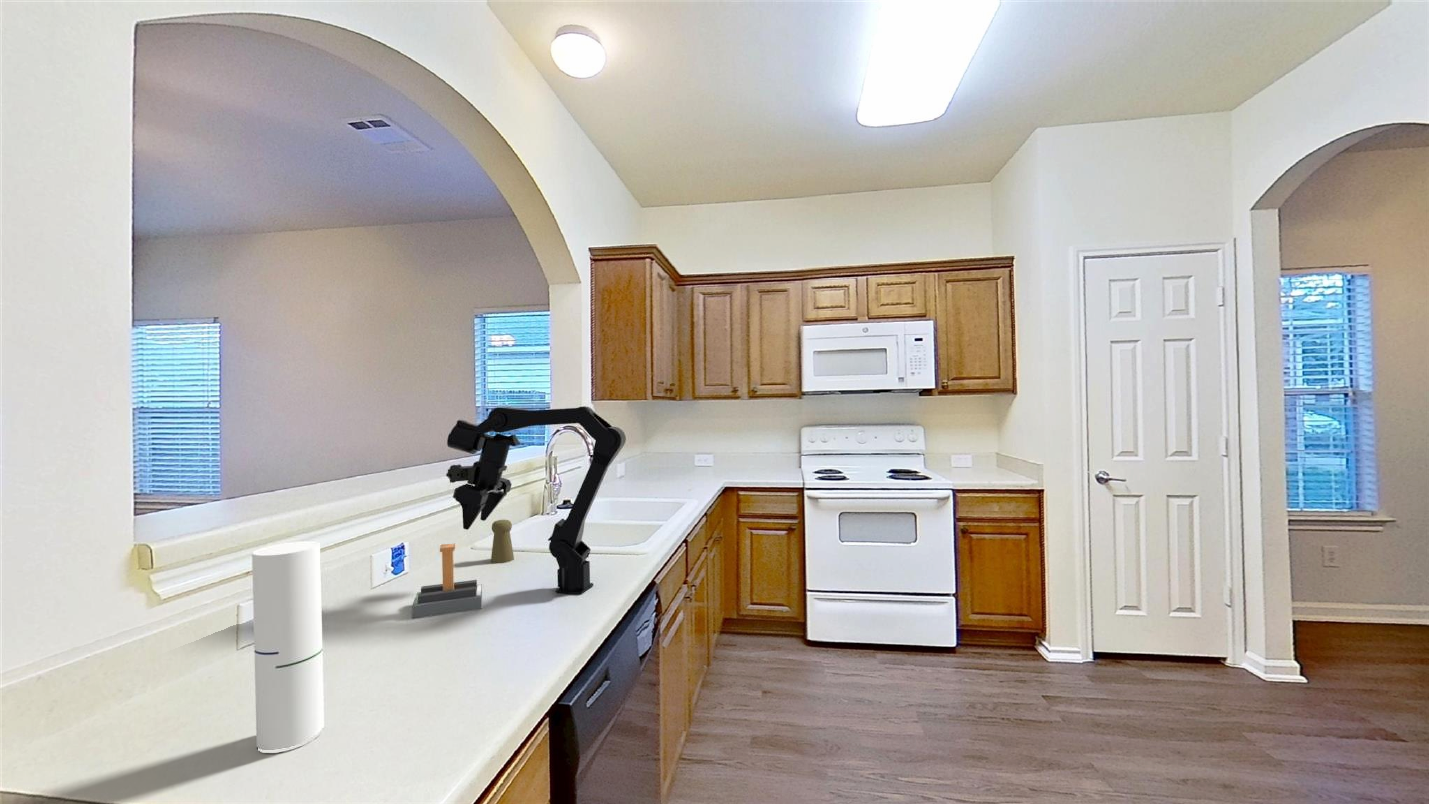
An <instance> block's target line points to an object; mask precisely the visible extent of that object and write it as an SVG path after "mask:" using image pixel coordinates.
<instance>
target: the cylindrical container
mask: <svg viewBox="0 0 1429 804" xmlns="http://www.w3.org/2000/svg"><path fill="white" fill-rule="evenodd" d="M251 561H252V563H251V565H252V566H251V569H252V571H251V572H252V603H253V604H252V605H253V646H254V648H253V649H254V650H253V652H254V654H253V655H254V686H255V691H254V692H255V724H256V725H255V726H256V727H255V729H256V730H255V731H256V732H255V733H256V738H255V739H256V748H257V747H258V748H259V749H262V750H275V749H282V748H289V747H291V746H295V745H297V744H301V743H302V742H305V741H306V740H307V739H310V738H311V737H314V735H317V734H318V733H319V732H320V731H321V730H322V728H323V727H324V728H325V710H324V709H325V705H324V701H325V700H324V668H323V667H324V663H323V661H324V660H323V659H324V658H323V656H324V655H323V624H322V623H323V621H322V620H323V618H322V616H323V615H322V613H323V612H322V583H321V582H322V579H321V578H322V576H321V574H322V572H321V543H320V542H319V541H313V540H307V541H306V540H305V541H304V540H303V541H291V542H284V543H277V544H271V545H266V546H263V547H260V548H257V549H255V550H254V551H252V552H251Z"/></svg>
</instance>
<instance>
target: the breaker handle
mask: <svg viewBox="0 0 1429 804" xmlns="http://www.w3.org/2000/svg"><path fill="white" fill-rule="evenodd" d="M455 550H456V543H447V544H445V543H444V544H441V545H440V547H439V553H441V559H442V560H441V561H442V563H441V565H442V567H441V568H442V584H443V591H445V590H453V589H454V582H455V575H454V574H455V568H454V567H455V565H454V564H455V563H454V551H455Z"/></svg>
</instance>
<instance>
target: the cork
mask: <svg viewBox="0 0 1429 804" xmlns="http://www.w3.org/2000/svg"><path fill="white" fill-rule="evenodd" d="M512 528H513V525H512V522H511V520H508V519H499V520H494V521H493V522H492V524H491V531H492V532H493V539H492V548H491V557H490V563H492V564H504V563H509V562H512V561H514V560H515V557H514V550H513V544H512V538H511V530H512Z"/></svg>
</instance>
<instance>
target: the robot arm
mask: <svg viewBox="0 0 1429 804" xmlns="http://www.w3.org/2000/svg"><path fill="white" fill-rule="evenodd" d="M570 424H571V425H573V424H574V425H575V424H578V425H580V427H582V428H583V430H584V431H585V432H586V433H587V434H588V435H589V436H590V438H592V439H593V440H595V442H594V447H593V448H592V459H591V463H590V465H589V467H588V469H587V472H586V474H585V476H584V480H583V481H582V484H581V485H580V488H579V490H578V493H577V495H576V497H575V499H574V501H573V505H572V507H571V508H570V510H569V513H568V515H567V518H566V519H564V518H561V519H560V520H559V521H557V522H556V523H555V524H554V527H553V531H552V533H551V536H550V537H549V538H548V539H547V540H548V542H549V541H550V542H549V545H548V550H549V552H550V554H551V556H552V557H553V558H555V560H556V562H557V565H558V569H557V570H556V571H557V572H556V573H557V589H555V593H558V594H559V593H560V594H573V595H574V594H575V595H581V594H584V593H585V592H586V591H588V590H590V589H591V588H592V587H594V583H593V582H591V572H590V571H591V570H590V569H591V568H590V567H591V565H590V561H589V560H587V558H589V555H590V554H591V553H590V552H591V548H590V547H589V546H588V545H587V544H586V543H585V542H584V541H583V535H584V530H585V524H586V519H587V516H588V514H589V512H590V510H591V508H592V506H593V504H594V501H595V499H596V496H597V494H598V493H599V490H600V487H601V485H602V483H603V480H604V478H605V476H606V474H607V471H608V470H609V467H610V466H611V464H612V463H613V462H614V460H615V459H616V458H617V456H618V455H619V454H620V452H621V450H622V449H623V448H624V445H625V444H626V440H627V437H626V434H625V432H624V430H623V429H621V428H620V427H617V426H612V425H611V423H609V422H608V421H606V420H605V419H604V418H602V417H601V416H600V415H598V414H597V413H596V412H595V411H594V410H593V409H592V408H591V407H590V406H586V405H585V406H579V407H571V408H570V407H569V408H568V407H566V408H551V409H528V408H521V407H519V408H518V407H514V406H513V407H511V406H504V407H503V406H501V407H500V406H499V407H494V408H493V409H491V411H489V413H488V415H487V417H486V418H485V419H484V420H483V421H482V422H480V423H479V424H478V425H477V424H475V423H471V422H468V421H467V420H464V419H459V420H456V423H455V425H454V426H453V428H452V429H451V430H450V432H449V434H448V436H447V441H446V445H447V447H448V448H450V449H454V450H457V451H461V452H465V453H466V454H467V453H468V454H470V455H475V454H476V453H477V452H480V455H479V459H478V460H477V461H475V462H473V464H472V465H463V466H462V465H461V464H451V465H450V467H449V469H447V473H446V474H445V476H446V477H447V478H448V479H449V483H450V484H451V483H453V484H454V483H456V482H466V483H465V484H462V485H459V486H457V487H456V488H455V489H454V491H453V494H452V498H454V500H455V502H458V503H459V505H460V506H461V510H462V527H463V529H464V530H469V529H470V528H471V526H472V525H474V524H473V523H474V522H475V521H476V520H477V518H478V517H479V515H480V517H479V518H480V521H486V520H487V519H488V517H489V516H491V514H492V513H493V512H494V510H495V509H496V508H497V506H498V505H499V504H500V503H501V502H502V501H503V500H504V498H505V497H506V496H507V494H508V493H509V492H510V491H511V489H512V482H511V480H510V479H508V478H504V477H502V476H503V472H504V471H507V468H508V466H507V465H505V464H506V461H507V457H508V454H509V451H510V447H517V446H520V445H521V442H520V441H519V439H518V437H517V435H516V434H511V435H506V434H502V433H506V432H507V433H508V432H513V431H517V430H520V429H525V428H529V427H534V426H535V427H536V426H551V425H552V426H553V425H570ZM488 433H495V434H494V435H491V434H488Z"/></svg>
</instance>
